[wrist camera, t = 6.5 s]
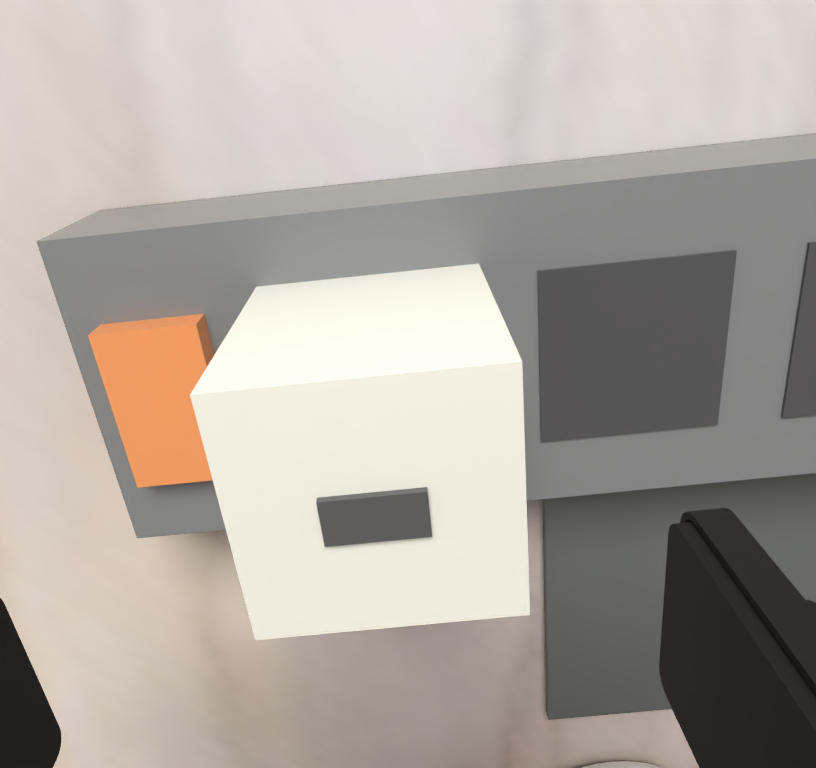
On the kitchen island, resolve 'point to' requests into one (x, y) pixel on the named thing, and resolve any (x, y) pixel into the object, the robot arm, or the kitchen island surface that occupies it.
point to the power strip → (516, 299)
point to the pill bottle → (622, 765)
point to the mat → (645, 581)
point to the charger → (370, 453)
